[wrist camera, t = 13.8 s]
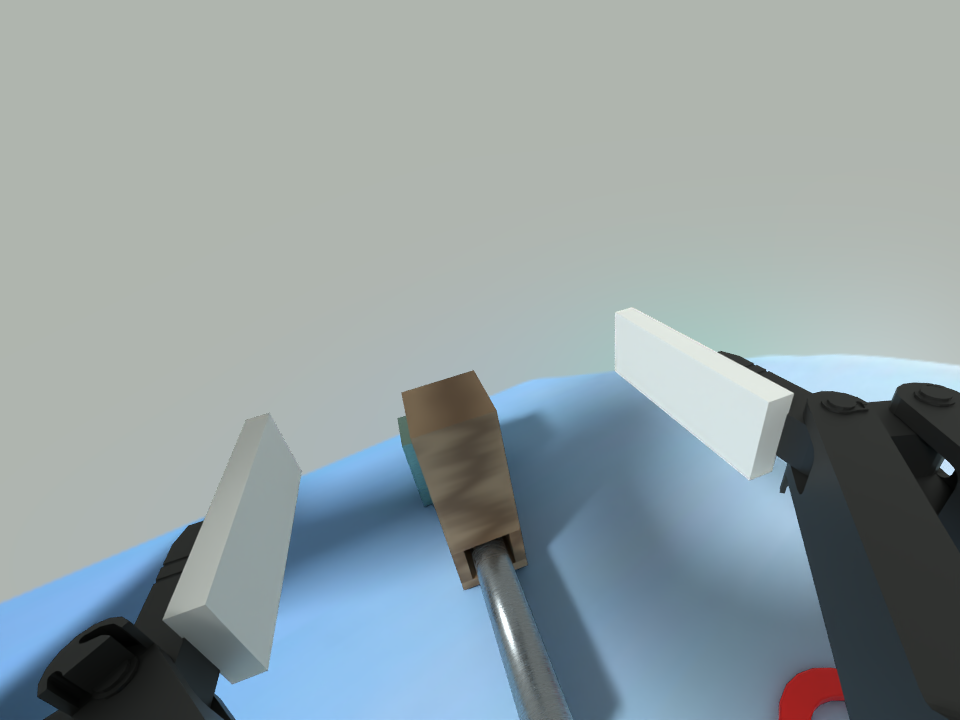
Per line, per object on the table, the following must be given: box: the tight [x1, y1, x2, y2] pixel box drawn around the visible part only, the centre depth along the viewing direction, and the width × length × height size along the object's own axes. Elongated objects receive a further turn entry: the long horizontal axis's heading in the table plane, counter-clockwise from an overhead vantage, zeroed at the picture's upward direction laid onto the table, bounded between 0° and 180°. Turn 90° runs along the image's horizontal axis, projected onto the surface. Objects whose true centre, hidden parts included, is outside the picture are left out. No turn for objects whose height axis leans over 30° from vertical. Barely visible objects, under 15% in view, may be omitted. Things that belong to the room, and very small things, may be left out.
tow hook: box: [778, 668, 845, 720], centre depth 19 cm, size 8×13×9 cm
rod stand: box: [398, 416, 573, 720], centre depth 34 cm, size 10×29×9 cm, turn 16°
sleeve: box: [402, 371, 528, 590], centre depth 33 cm, size 6×6×18 cm
